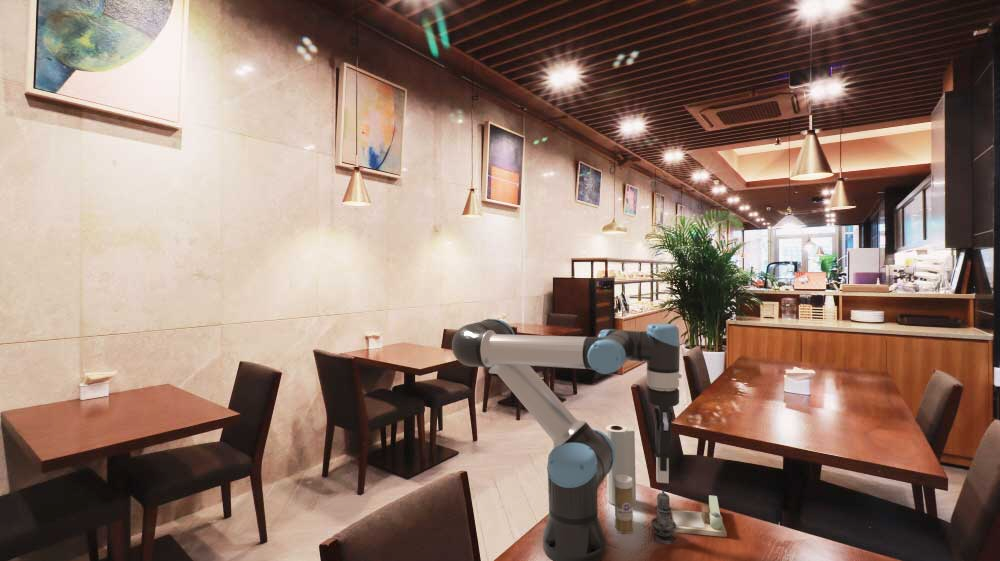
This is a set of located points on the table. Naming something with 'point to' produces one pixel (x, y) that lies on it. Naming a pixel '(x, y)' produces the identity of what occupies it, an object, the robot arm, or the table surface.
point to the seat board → (696, 522)
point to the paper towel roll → (621, 458)
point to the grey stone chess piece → (663, 521)
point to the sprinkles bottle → (623, 503)
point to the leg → (715, 513)
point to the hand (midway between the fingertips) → (662, 481)
